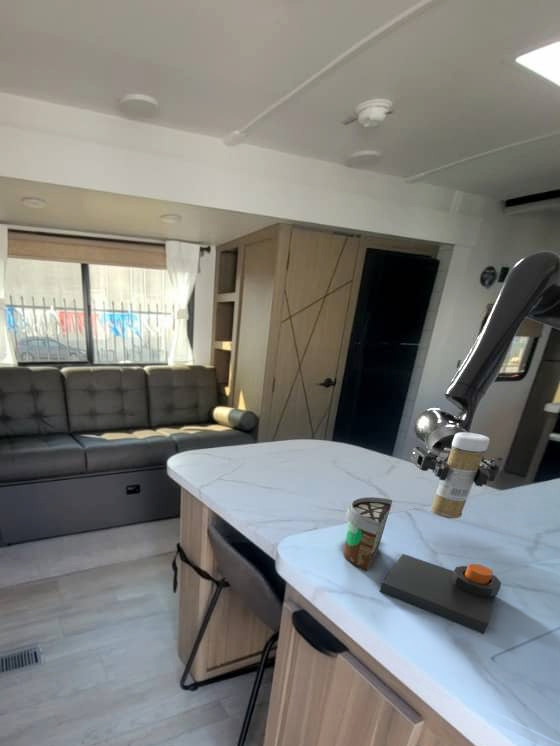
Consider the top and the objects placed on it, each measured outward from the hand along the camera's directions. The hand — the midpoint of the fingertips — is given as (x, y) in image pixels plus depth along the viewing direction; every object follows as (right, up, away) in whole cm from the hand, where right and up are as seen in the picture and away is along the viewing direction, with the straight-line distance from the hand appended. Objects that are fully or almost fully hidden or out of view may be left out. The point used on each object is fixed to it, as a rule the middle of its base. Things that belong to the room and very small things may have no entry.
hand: (462, 477), depth 63 cm
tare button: (+3, -16, +1) cm, 16 cm away
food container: (-11, -13, +13) cm, 22 cm away
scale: (-3, -19, +2) cm, 19 cm away
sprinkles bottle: (+1, -6, +6) cm, 8 cm away
